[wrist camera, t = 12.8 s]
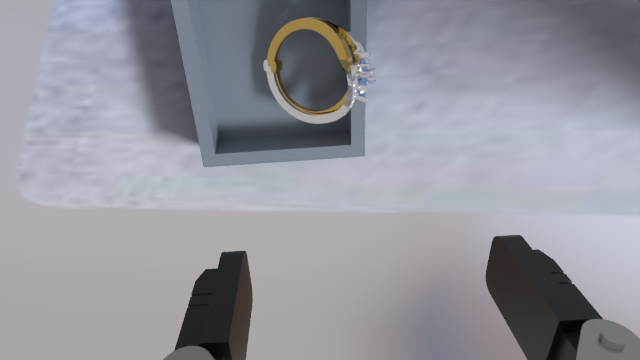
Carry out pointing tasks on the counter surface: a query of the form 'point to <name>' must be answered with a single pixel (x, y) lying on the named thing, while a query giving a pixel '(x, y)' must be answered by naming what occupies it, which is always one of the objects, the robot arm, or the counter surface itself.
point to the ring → (356, 72)
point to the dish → (252, 84)
